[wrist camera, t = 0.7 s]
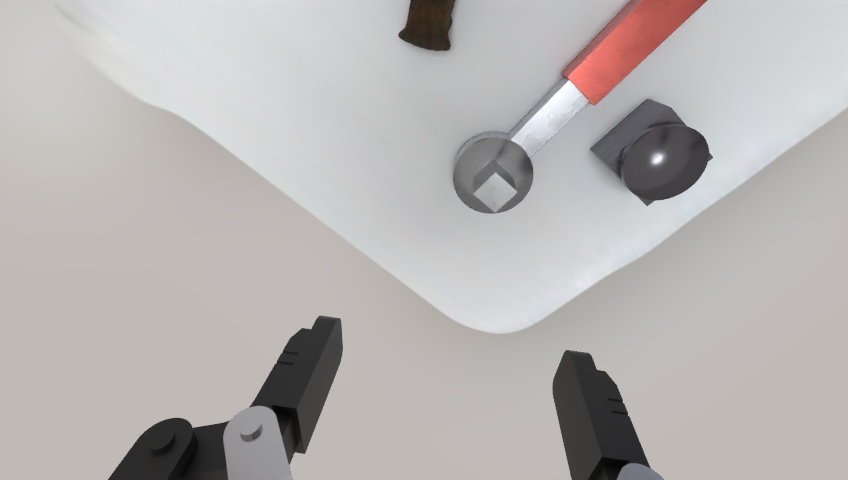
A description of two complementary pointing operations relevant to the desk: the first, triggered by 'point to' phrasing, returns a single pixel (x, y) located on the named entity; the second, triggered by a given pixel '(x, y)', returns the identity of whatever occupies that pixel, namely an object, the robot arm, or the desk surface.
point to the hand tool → (428, 24)
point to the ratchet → (563, 104)
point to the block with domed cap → (654, 152)
